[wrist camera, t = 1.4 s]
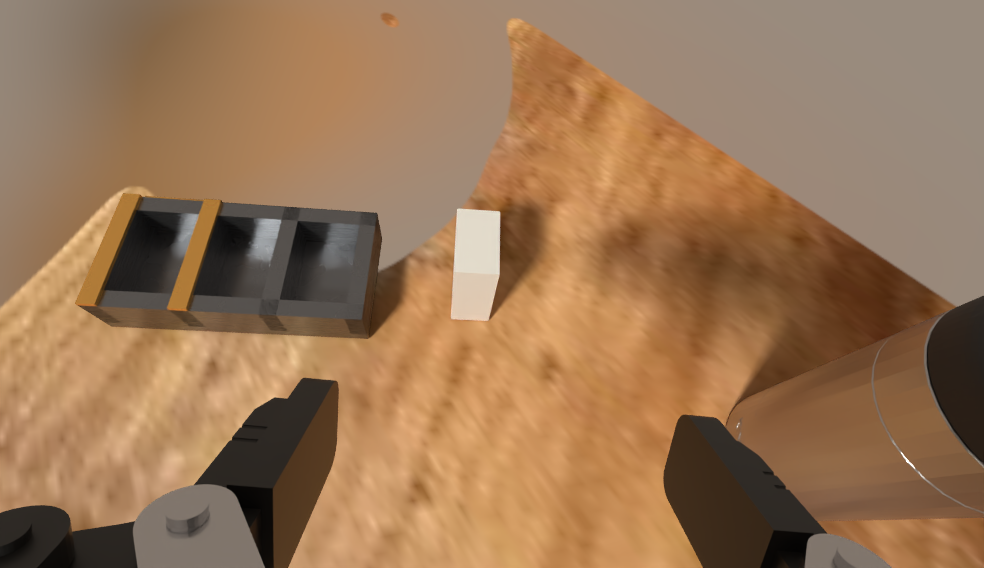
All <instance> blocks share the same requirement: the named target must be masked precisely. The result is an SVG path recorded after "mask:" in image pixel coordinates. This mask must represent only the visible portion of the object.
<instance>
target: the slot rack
mask: <svg viewBox="0 0 984 568" xmlns="http://www.w3.org/2000/svg"><path fill="white" fill-rule="evenodd" d="M381 242H382V236H381V231H380V225H379V220H378V215H377V213H369V212H355V211H340V210H326V209H311V208H310V209H309V208H297V207H281V206H267V205H252V204H237V203H223V202H222V201H221V200H213V199H204V200H195V199H180V198H166V197H151V196H145V197H142V196H141V195H140V194H126V193H123V195H122V197H121V199H120V201H119V204H118V206H117V208H116V211H115V213H114V215H113V217H112V220H111V222H110V224H109V227H108V229H107V231H106V233H105V236H104V238H103V240H102V243H101V245H100V247H99V249H98V252H97V254H96V256H95V259H94V261H93V263H92V265H91V268H90V270H89V272H88V275H87V277H86V279H85V281H84V284H83V286H82V288H81V291H80V293H79V295H78V297H77V300H76V302H75V304H76V305H78V306H80V307H81V308H83V309H84V310H86V311H88V312H89V313H91V314H92V315H94V316H96V317H97V318H99V319H100V320H102V321H104V322H105V323H107V324H108V325H110V326H112V327H133V328H154V329H175V330H196V331H217V332H238V333H259V334H280V335H301V336H322V337H343V338H364V339H368V338H369V331H370V324H371V316H372V309H373V301H374V294H375V287H376V279H377V272H378V265H379V257H380V250H381Z"/></svg>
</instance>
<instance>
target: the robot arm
mask: <svg viewBox="0 0 984 568" xmlns="http://www.w3.org/2000/svg"><path fill="white" fill-rule="evenodd" d="M338 394H339V388H338V382H337V381H332V380H321V379H311V378H303V379H301V381H300V382H299V383H298V385H297V386H296V388H295V389H294V390H293V392H292V393H291V395H290V396H289V397H288V399H284V398H273V399H271V400H270V401H268V402H266V403H265V404H263V405H261V406H260V407H258V408H256V409H255V410H254V411H253V412H252V413H251V415H250V416H249V417H248V418H247V420H246V421H245V422H244V423H243V425H242V428H239V430H238V431H237V432H236V433H235V435H234V436H233V437H232V441H229V442H228V443H227V445H226V446H225V447H224V448H223V450H222V451H221V452H220V453H219V455H218V456H217V457H216V458H215V460H214V461H213V462H212V463H211V465H210V466H209V467H208V468H207V469H206V471H205V472H204V473H203V474H202V476H201V477H200V478H199V479H198V481H197V482H196V483H195V484H194V485H193V486H188V487H184V488H180V489H177V490H174V491H172V492H170V493H167V494H165V495H163V496H161V497H160V498H158V499H156V500H155V501H153V502H152V503H151V504H149V505H148V506H147V507H146V508H145V509H144V510H143V511H142V512H141V513H140V515H139V516H138V517H137V519H136V521H134V522H129V523H124V524H119V525H112V526H106V527H99V528H93V529H86V530H80V531H74V532H72V528H71V522H70V518H69V515H68V514H67V513H66V512H65V511H64V510H62V509H60V508H57V507H53V506H45V505H40V506H27V507H21V508H16V509H12V510H9V511H5V512H2V513H0V568H288V567H289V564H290V562H291V560H292V557H293V555H294V553H295V550H296V548H297V546H298V544H299V541H300V539H301V537H302V534H303V532H304V530H305V527H306V525H307V523H308V520H309V518H310V516H311V514H312V511H313V509H314V507H315V504H316V502H317V500H318V497H319V495H320V493H321V491H322V488H323V486H324V484H325V481H326V479H327V477H328V474H329V472H330V470H331V467H332V464H333V460H334V456H335V451H336V444H337V422H338ZM664 489H665V493H666V496H667V499H668V501H669V503H670V505H671V507H672V509H673V510H674V512H675V514H676V516H677V518H678V520H679V522H680V524H681V526H682V528H683V530H684V532H685V534H686V535H687V537H688V539H689V541H690V543H691V545H692V547H693V549H694V551H695V553H696V555H697V557H698V559H699V560H700V562H701V564H702V566H703V568H892V567H891V566H889V565H888V564H887V563H886V562H885V561H884V560H883V559H881V558H880V557H879V556H877V555H876V554H875V553H873V552H872V551H870V550H868V549H867V548H865V547H863V546H862V545H860V544H858V543H856V542H854V541H851V540H849V539H846V538H843V537H840V536H837V535H832V534H827V533H826V531H825V530H824V529H823V528H822V527H821V526H820V525H819V523H818V522H817V521H856V520H900V519H943V518H984V296H982V297H980V298H977V299H975V300H972V301H970V302H968V303H965V304H963V305H961V306H959V307H956V308H954V309H952V310H949V311H947V312H945V313H942V314H940V315H938V316H935V317H933V318H931V319H928V320H926V321H924V322H921V323H919V324H917V325H914V326H912V327H910V328H907V329H905V330H903V331H900V332H899V333H896V334H894V335H892V336H889V337H887V338H885V339H882V340H880V341H878V342H875V343H873V344H871V345H868V346H866V347H864V348H861V349H859V350H857V351H854V352H852V353H850V354H847V355H845V356H843V357H840V358H838V359H836V360H833V361H831V362H829V363H826V364H824V365H822V366H819V367H817V368H815V369H812V370H810V371H808V372H805V373H803V374H801V375H798V376H796V377H794V378H791V379H789V380H787V381H784V382H782V383H779V384H777V385H775V386H772V387H770V388H768V389H765V390H763V391H761V392H759V393H756V394H754V395H752V396H750V397H747V398H745V399H744V400H742V401H741V402H740V403H739V404H738V405H737V406H736V407H735V408H734V410H733V411H732V413H731V414H730V416H729V419H728V422H727V425H726V428H725V427H724V425H723V424H722V423H721V422H720V421H719V420H718V419H717V418H714V417H704V416H693V415H682V416H681V417H680V418H679V419H678V422H677V425H676V428H675V432H674V436H673V439H672V443H671V447H670V451H669V454H668V458H667V462H666V465H665V470H664Z"/></svg>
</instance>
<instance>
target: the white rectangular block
mask: <svg viewBox="0 0 984 568" xmlns="http://www.w3.org/2000/svg"><path fill="white" fill-rule="evenodd" d="M499 275H500V212H499V211H484V210H470V209H457V222H456V238H455V255H454V272H453V290H452V307H451V319H461V320H480V321H488V320H489V316H490V312H491V308H492V304H493V300H494V296H495V291H496V287H497V283H498V279H499Z"/></svg>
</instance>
